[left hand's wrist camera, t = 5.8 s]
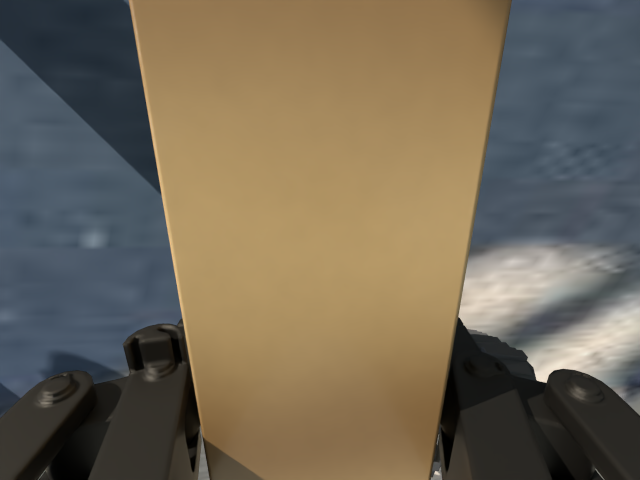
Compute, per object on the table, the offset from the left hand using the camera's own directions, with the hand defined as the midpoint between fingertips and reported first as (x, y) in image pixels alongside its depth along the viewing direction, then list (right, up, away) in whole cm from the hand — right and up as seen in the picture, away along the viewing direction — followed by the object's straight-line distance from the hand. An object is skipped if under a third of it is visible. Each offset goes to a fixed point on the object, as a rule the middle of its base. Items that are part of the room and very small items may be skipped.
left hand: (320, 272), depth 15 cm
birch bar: (0, +8, -2) cm, 8 cm away
